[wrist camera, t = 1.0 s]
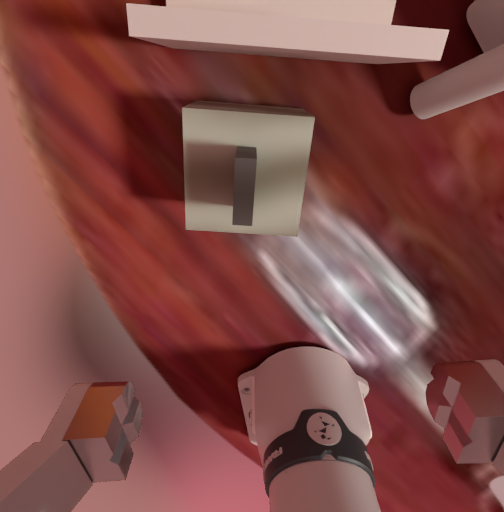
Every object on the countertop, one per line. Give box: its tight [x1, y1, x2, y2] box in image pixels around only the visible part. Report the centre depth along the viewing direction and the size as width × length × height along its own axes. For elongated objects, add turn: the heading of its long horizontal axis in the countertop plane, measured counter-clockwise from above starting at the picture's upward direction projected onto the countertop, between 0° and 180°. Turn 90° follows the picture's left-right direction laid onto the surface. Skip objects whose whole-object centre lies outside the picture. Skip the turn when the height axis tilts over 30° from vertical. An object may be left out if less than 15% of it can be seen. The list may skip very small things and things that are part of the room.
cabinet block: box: [182, 100, 315, 236], centre depth 29 cm, size 10×10×11 cm
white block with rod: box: [410, 0, 504, 119], centre depth 26 cm, size 8×10×10 cm
